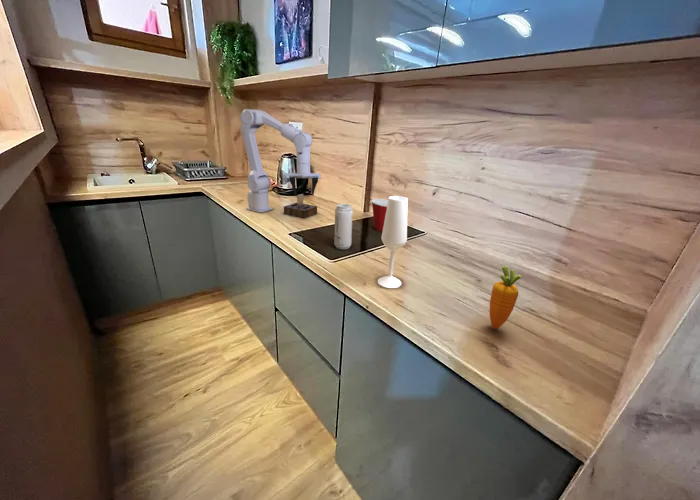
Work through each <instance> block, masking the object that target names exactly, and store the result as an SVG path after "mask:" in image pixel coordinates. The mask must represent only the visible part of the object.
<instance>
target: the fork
mask: <svg viewBox="0 0 700 500" xmlns="http://www.w3.org/2000/svg"><path fill="white" fill-rule="evenodd" d="M304 201H305V200H304V193H300V194H296V203H297V202H298V208H300V207H303V204H304Z"/></svg>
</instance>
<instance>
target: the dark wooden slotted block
mask: <svg viewBox="0 0 700 500" xmlns="http://www.w3.org/2000/svg"><path fill="white" fill-rule="evenodd" d="M283 214H284V215H288V216H292V217H297V218H301V219H307V218H309V217H311V216H315V215H317V214H318V206H317V205H313V204H307V203H303V207H300V208H298V202H297V201H296V202H294V203H291V204H287V205H284V206H283Z"/></svg>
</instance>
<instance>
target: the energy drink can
mask: <svg viewBox="0 0 700 500" xmlns="http://www.w3.org/2000/svg"><path fill="white" fill-rule="evenodd" d="M353 215H354V210H353V208H352V204H349V203H338V204H337V205H336V208H335V209H334V241H333V242H334V243H333V245H334V246H335V248H336V249H338V250H349V249H350V247H351V246H352V238H353Z"/></svg>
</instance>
